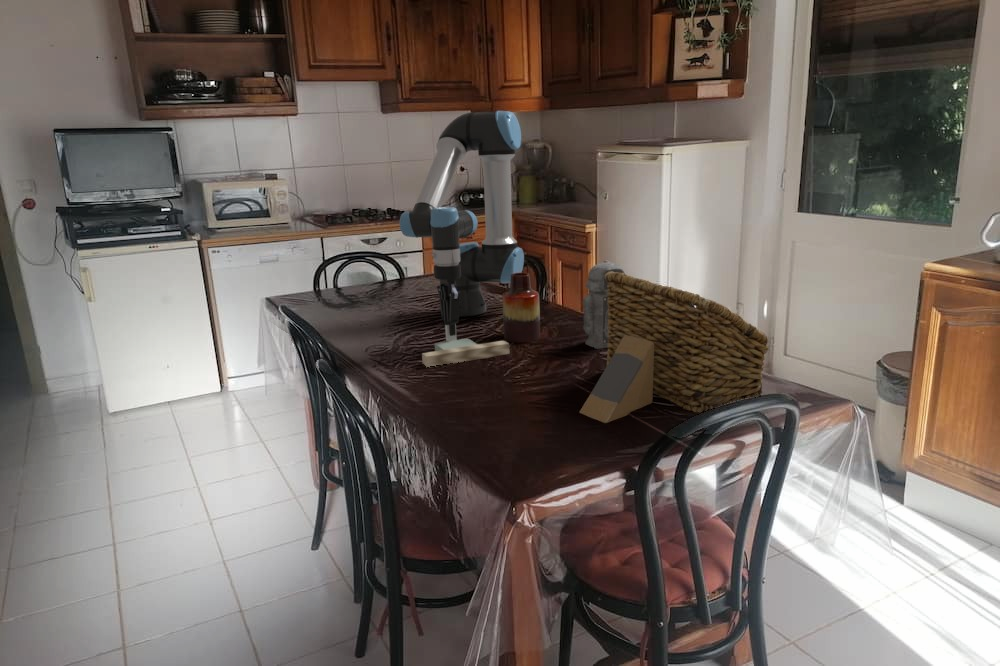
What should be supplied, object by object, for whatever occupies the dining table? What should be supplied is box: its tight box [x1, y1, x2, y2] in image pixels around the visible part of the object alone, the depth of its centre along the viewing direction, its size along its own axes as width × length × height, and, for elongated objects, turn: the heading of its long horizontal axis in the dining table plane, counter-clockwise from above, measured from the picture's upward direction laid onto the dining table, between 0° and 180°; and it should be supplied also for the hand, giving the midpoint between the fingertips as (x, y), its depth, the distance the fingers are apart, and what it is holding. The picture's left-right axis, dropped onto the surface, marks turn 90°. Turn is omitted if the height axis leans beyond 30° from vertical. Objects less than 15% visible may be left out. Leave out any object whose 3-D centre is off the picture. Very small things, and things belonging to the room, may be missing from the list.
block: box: [434, 338, 479, 351], centre depth 200 cm, size 10×8×4 cm
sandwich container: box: [579, 335, 654, 424], centre depth 155 cm, size 9×15×15 cm, turn 129°
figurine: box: [582, 259, 625, 350], centre depth 201 cm, size 10×14×25 cm
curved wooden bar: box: [421, 340, 511, 368], centre depth 194 cm, size 24×4×4 cm, turn 114°
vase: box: [502, 272, 541, 344], centre depth 210 cm, size 11×11×20 cm
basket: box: [605, 271, 770, 414], centre depth 167 cm, size 36×26×27 cm
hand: (451, 345), depth 204 cm, fingers closed
